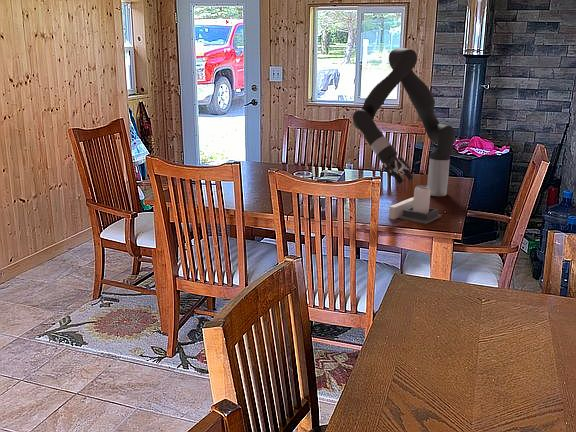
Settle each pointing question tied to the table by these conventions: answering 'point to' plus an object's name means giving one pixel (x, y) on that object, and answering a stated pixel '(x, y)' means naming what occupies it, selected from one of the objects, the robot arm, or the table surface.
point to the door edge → (399, 208)
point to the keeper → (420, 215)
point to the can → (421, 199)
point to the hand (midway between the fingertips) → (406, 180)
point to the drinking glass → (321, 198)
